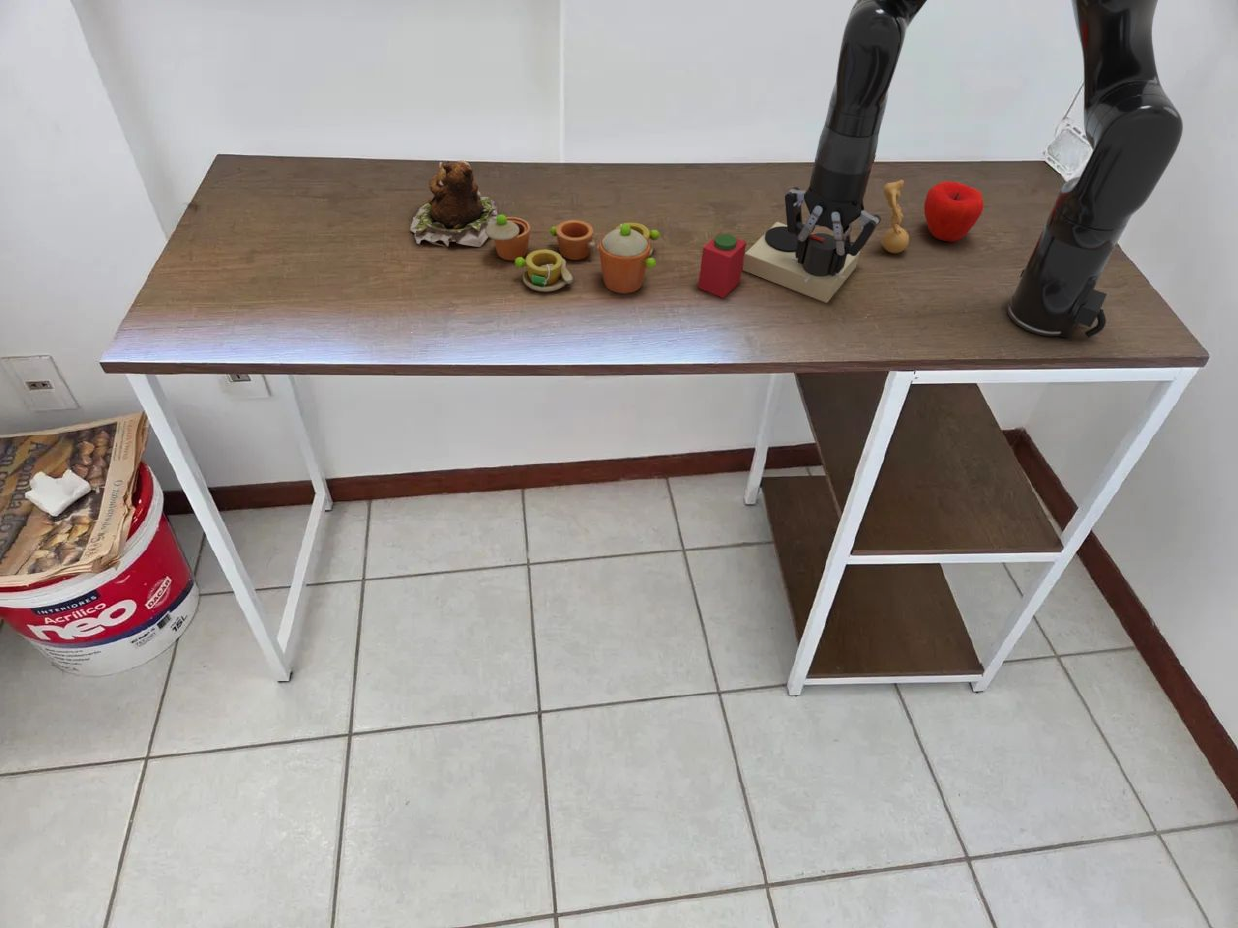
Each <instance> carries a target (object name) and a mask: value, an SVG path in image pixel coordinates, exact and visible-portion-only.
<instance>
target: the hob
mask: <svg viewBox="0 0 1238 928" xmlns="http://www.w3.org/2000/svg"><path fill="white" fill-rule="evenodd" d="M779 226H786V227H787V224H784V223H782V222H779V221H776V222H775V223H774V224H773V225H772V226H771V227H770V228H769V229H771V228H774V227H779ZM765 234H766V232H765V233H764V234H763V235H762V236H761V237H760V238H759V239H757V241H756V242H755V243H754V244H753V245H752V246H751V247H750V248H749V249H748V250H747V251H745V253H744V259H743V265H742V271H743V272H746V273H748V274H751V275H754V276H755V277H759V278H761V279H763V280H767V281H769V282H772V283H775V284H776V285H780V286H782V287H784V288H787V289H789V290H792V291H795V292H798V293H800V294H803V295H805V296H807V297H810V298H813V299H815V300H818V301H821V302H823V303H826V304H828V302H829V301H830V300H831V299H832V298H833V296H834V295H835V294H836V293H837V292H838V290H839V289H840V288H841V286H842V285H843V284H844V283H845V282H846V281H847V279H848V278H849V277H850V276H851V275H852V273H853V272H854V271H855V270H856V268H857V265H858V262H859V258H860V254H861V250H860V251H859V252H858V254H857V255H856V256H852V255H850V254H847V257H846V261H845V265H844V267H843V268H842V270H841V271H840V272H839V273H836V274H835V275H834V276H832V275H830V274H829V275H827V276H814V275H811V274H809V273H807V272H806V271H805V270H804V269H803V264H801V263H798V262H797V261H798V258H796V256H795V253H796V252H783V251H779V250H776V249H774V248H772V247H770V246H769V245H768V244H767V243H766V241H765Z"/></svg>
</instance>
